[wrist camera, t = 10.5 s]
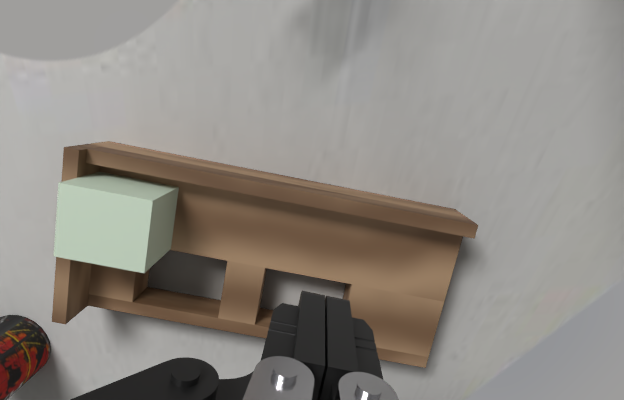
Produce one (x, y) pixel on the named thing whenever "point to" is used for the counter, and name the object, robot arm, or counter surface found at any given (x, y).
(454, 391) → the counter surface
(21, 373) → the deodorant
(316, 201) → the box
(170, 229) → the block
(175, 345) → the counter surface
